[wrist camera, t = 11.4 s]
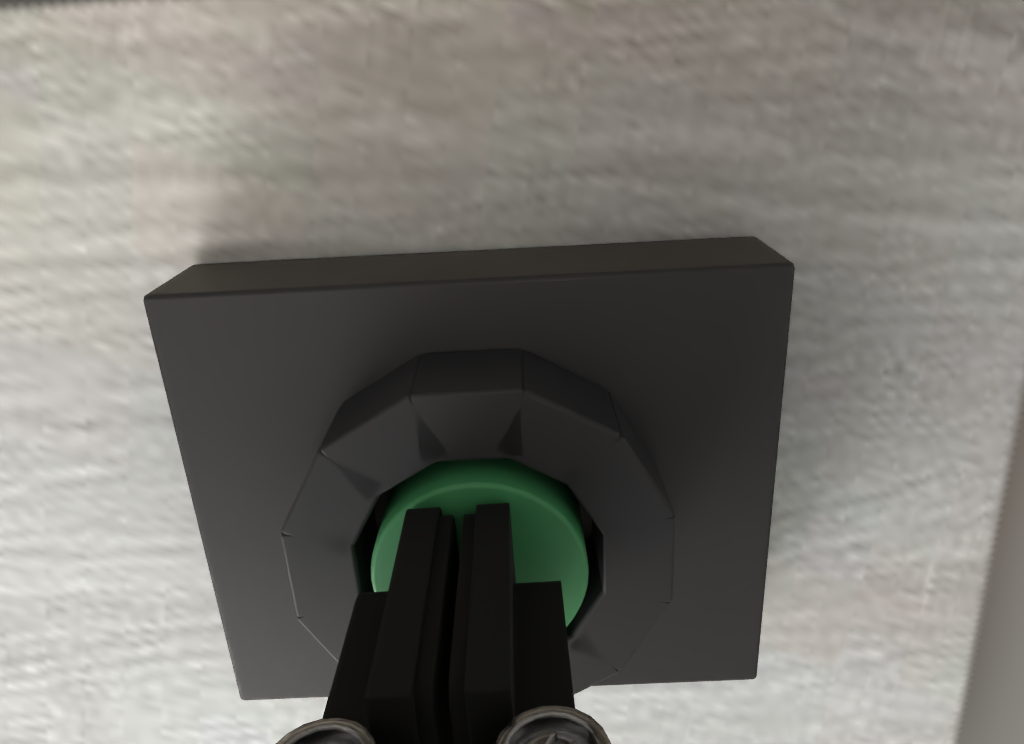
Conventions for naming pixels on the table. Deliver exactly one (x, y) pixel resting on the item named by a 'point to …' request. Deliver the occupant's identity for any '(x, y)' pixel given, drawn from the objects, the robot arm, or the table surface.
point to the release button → (534, 519)
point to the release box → (486, 434)
